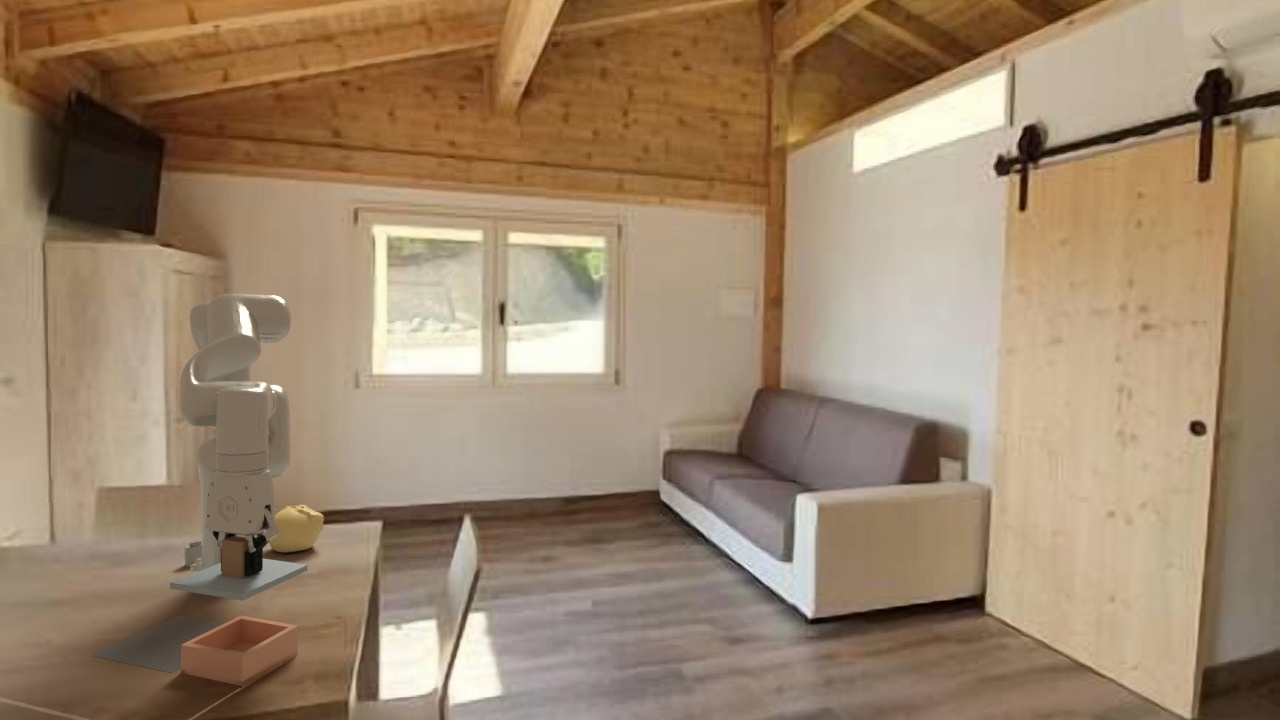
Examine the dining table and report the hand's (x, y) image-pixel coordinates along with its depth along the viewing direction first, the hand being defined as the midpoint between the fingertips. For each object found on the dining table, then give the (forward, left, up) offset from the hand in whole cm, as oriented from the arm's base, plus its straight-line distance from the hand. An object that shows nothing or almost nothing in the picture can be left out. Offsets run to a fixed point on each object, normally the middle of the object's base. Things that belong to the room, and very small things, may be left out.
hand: (241, 570), depth 118 cm
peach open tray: (0, 0, -16) cm, 16 cm away
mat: (-16, +2, -16) cm, 23 cm away
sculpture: (-33, +50, -16) cm, 62 cm away
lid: (0, 0, -1) cm, 1 cm away
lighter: (-45, +35, -16) cm, 59 cm away
